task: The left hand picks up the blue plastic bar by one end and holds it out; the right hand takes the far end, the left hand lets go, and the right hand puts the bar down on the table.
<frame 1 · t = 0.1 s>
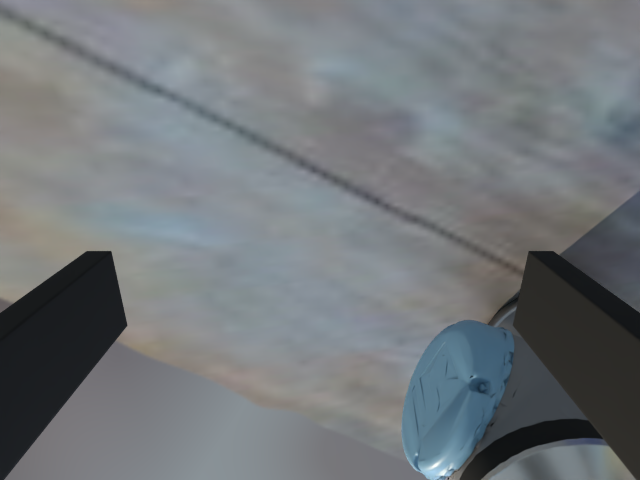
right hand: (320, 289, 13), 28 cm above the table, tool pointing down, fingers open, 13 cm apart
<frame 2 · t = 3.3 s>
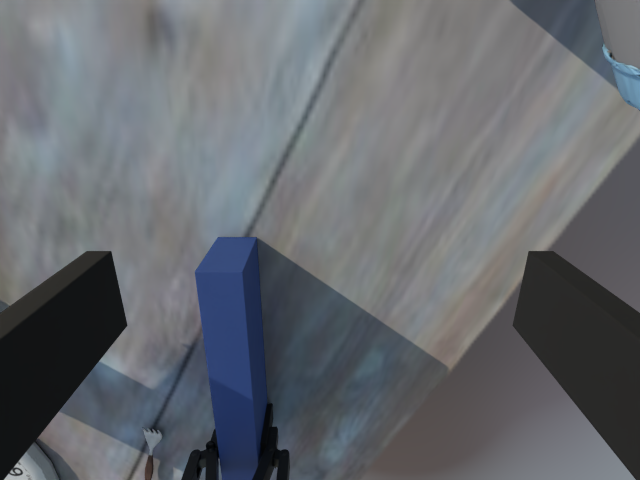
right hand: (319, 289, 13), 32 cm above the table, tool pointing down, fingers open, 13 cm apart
fork: (152, 455, 59), on the table
bar: (246, 341, 51), on the table, touching left hand
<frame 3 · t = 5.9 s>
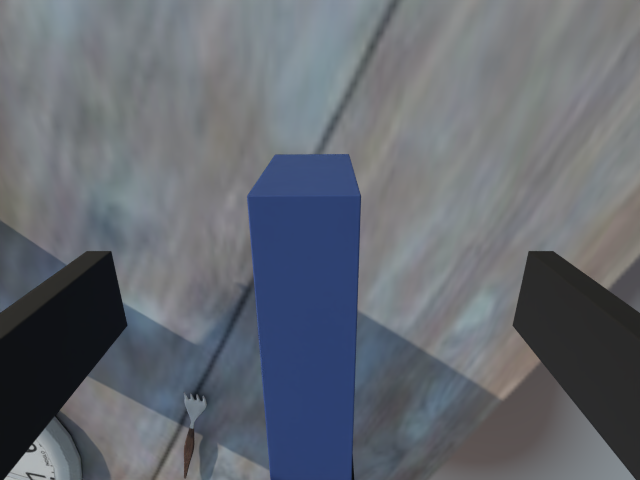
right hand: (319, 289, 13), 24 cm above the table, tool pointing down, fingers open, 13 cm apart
fork: (192, 429, 48), on the table
bar: (315, 349, 30), point 11 cm above the table, touching left hand
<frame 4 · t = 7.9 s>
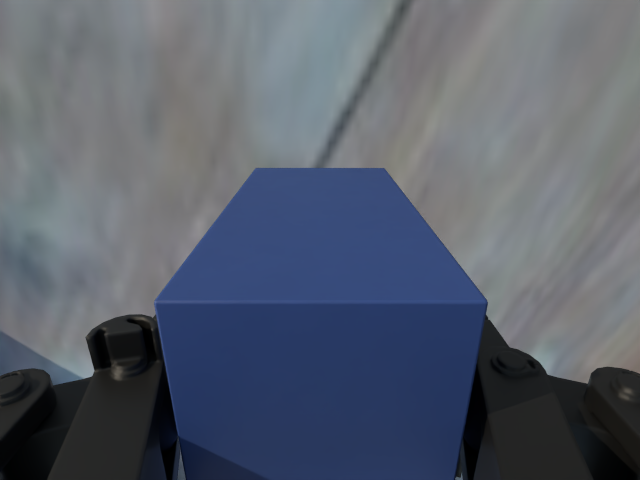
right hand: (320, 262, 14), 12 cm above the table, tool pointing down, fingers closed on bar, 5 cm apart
bar: (319, 466, 19), point 11 cm above the table, touching right hand, left hand
when the left hand's fingers open (11 cm above the table, at t = 8.7 s): bar stays where it is, held by the right hand.
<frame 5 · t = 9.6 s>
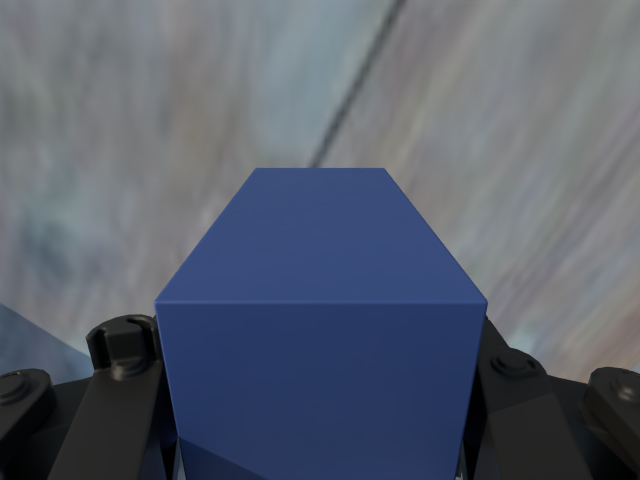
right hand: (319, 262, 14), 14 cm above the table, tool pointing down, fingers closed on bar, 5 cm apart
bar: (319, 466, 19), point 13 cm above the table, touching right hand
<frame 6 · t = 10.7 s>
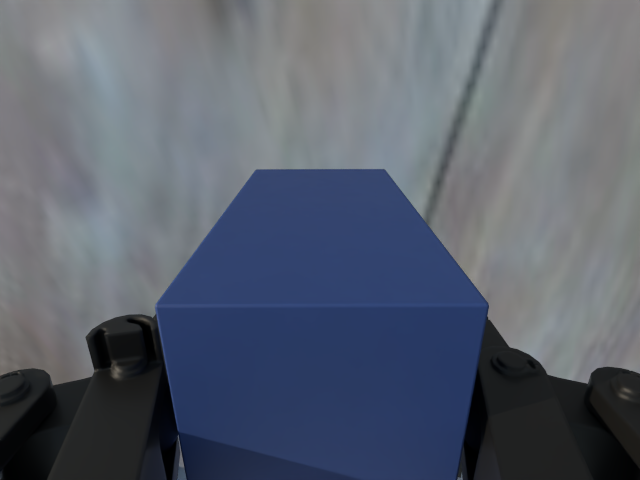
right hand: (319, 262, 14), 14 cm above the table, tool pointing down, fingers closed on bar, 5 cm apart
bar: (320, 467, 19), point 13 cm above the table, touching right hand
when the right hand's fingers open (2 cm above the table, at t = 13.8 s): bar drops 1 cm, on the table.
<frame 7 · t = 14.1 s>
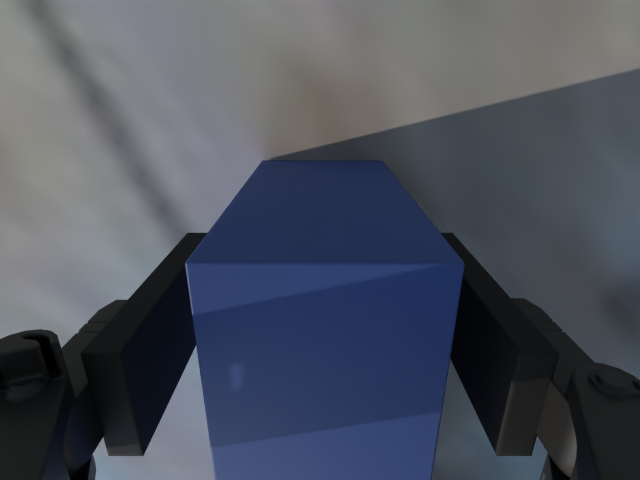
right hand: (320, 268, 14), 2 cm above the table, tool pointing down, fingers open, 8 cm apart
bar: (320, 445, 20), on the table
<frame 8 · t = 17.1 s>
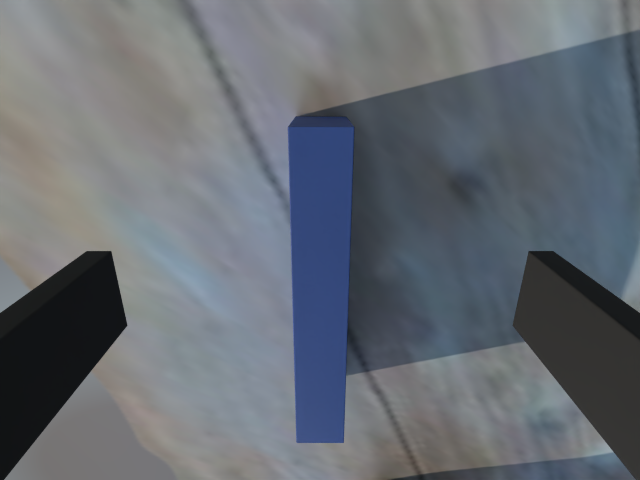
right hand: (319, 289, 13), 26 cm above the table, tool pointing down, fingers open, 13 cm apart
bar: (320, 264, 41), on the table
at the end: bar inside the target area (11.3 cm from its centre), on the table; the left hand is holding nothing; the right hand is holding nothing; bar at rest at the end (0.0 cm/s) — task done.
